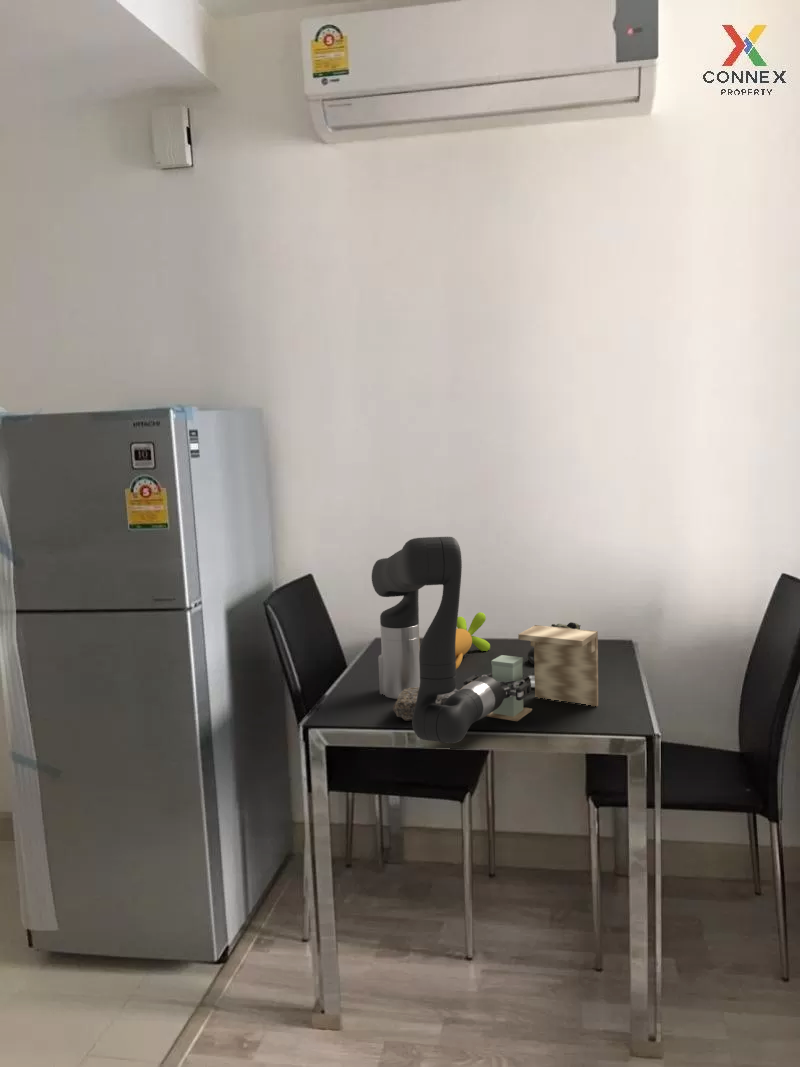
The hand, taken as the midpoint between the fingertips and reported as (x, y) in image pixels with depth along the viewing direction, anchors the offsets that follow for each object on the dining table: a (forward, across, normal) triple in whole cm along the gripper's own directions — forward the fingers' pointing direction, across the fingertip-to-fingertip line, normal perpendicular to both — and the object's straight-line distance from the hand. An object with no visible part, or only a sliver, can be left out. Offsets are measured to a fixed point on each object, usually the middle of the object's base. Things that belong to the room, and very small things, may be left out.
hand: (511, 678), depth 203 cm
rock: (-10, +16, +8) cm, 21 cm away
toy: (+30, +33, +8) cm, 46 cm away
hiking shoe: (+45, +8, +8) cm, 46 cm away
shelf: (+7, -8, +8) cm, 13 cm away
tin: (-2, 0, +7) cm, 7 cm away
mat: (-2, 0, +8) cm, 8 cm away
